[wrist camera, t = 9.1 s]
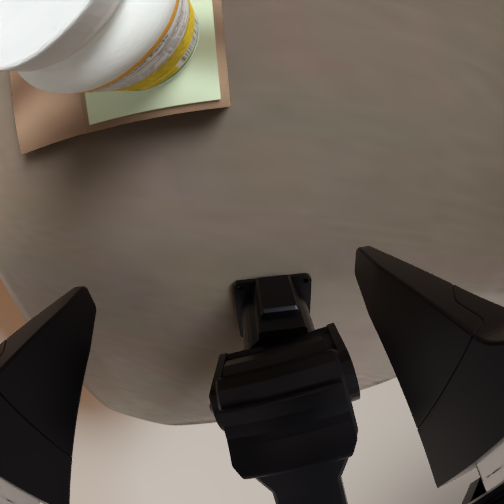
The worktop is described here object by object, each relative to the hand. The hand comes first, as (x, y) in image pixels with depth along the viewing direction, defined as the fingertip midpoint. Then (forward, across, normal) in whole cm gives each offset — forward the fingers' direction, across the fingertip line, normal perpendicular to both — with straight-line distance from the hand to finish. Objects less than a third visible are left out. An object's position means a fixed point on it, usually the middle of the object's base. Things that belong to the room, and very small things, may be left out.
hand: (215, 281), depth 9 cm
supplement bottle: (+10, +3, -10) cm, 14 cm away
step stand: (+13, +6, -10) cm, 18 cm away
